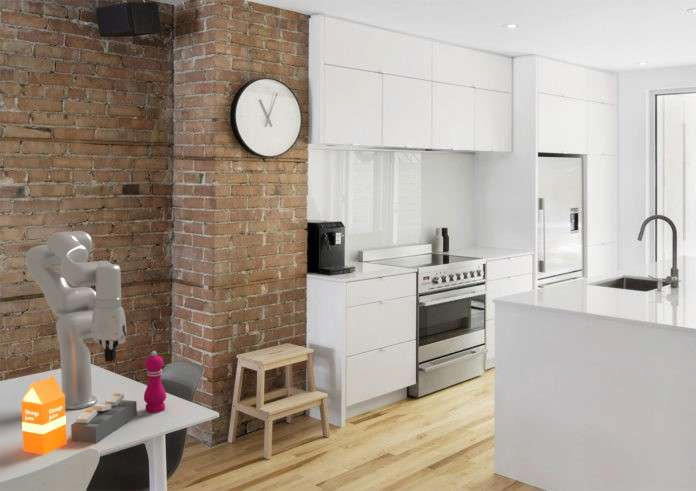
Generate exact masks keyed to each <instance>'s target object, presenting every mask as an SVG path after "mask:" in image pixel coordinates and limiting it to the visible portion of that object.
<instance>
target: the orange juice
mask: <svg viewBox="0 0 696 491" xmlns="http://www.w3.org/2000/svg"><path fill="white" fill-rule="evenodd" d="M20 404H21V419H22V420H21V421H22V422H21V427H22V429H21V430H22V443H23V452H26V453H27V452H28V453H32V454H38V455H43V456H44V455H47V454H48V453H51V452H53V451H54V450H57V449H59V448H61V447H63V446H65V445H66V444H67V426H66V425H67V418H66V409H65V396H64V394H63V392H62V388H61V387H60V385H59V384H58V381H57V380H56V378H55V376H54V375H52V376H49V377H46V378H43V379H41V380H38V381H35V382H33V383H30V386H29V387H28V389H27V391H26V393H25V395H24V397H23V398H22V400H21V402H20Z"/></svg>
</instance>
